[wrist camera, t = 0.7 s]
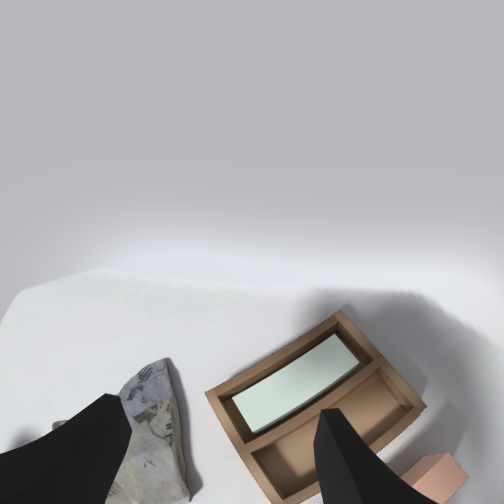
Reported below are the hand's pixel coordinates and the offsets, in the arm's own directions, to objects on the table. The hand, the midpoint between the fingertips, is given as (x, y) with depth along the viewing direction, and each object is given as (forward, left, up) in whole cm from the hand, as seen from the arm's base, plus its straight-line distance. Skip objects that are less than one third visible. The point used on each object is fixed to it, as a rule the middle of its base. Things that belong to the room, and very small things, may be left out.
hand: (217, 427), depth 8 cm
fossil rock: (+6, +14, -16) cm, 22 cm away
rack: (0, -5, -15) cm, 16 cm away
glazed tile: (+3, -5, -14) cm, 15 cm away
